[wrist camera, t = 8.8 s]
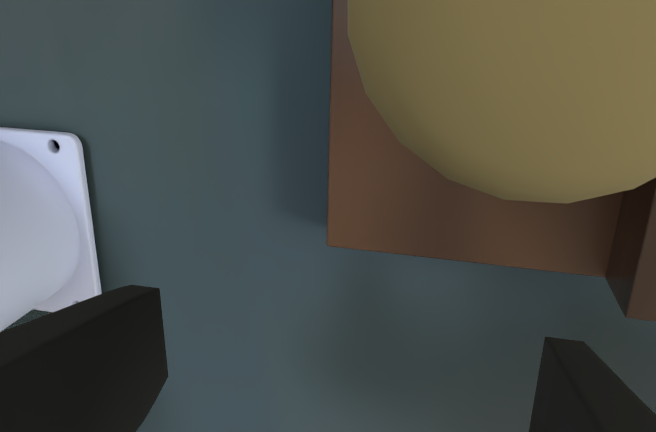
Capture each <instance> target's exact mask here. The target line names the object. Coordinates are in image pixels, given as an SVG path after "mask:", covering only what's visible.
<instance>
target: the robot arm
mask: <svg viewBox="0 0 656 432" xmlns="http://www.w3.org/2000/svg"><path fill="white" fill-rule="evenodd" d="M54 141H57V142H58V144H59V146H60V149H59V150H58V149H57V148H56V147H55V144H54ZM78 302H79V303H78ZM32 309H35V310H41V311H48V312H53V313H50V314H48V315H45V316H42V317H40V318H37V319H35V320H32V321H29V322H27V323H24V324H21V325H19V326H16V327H13V328H10V329H7V330H5V331H2V330H4V329H5V328H7V327H8V326H9V325H11V324H12V323H14V322H15V321H17V320H18V319H19V318H21V317H22V316H24V315H25V314H27V313H28V312H29V311H31V310H32ZM1 331H2V332H1ZM167 378H168V369H167V359H166V350H165V340H164V330H163V320H162V310H161V300H160V290H159V288H152V287H144V286H136V285H129V286H125V287H121V288H118V289H114V290H111V291H108V292H106V293H103V294H102V292H101V284H100V276H99V269H98V261H97V254H96V246H95V239H94V231H93V223H92V216H91V208H90V201H89V193H88V186H87V178H86V171H85V163H84V155H83V148H82V144H81V141H80V140H79V138H78V137H77V136H76V135H74V134H72V133H68V132H56V131H43V130H30V129H18V128H5V127H0V432H136V430H137V429H138V428H139V426H140V425H141V424H142V422H143V421H144V419H145V417H146V416H147V414H148V412H149V411H150V409H151V407H152V405H153V404H154V402H155V400H156V398H157V396H158V395H159V393H160V391H161V389H162V387H163V385H164V383H165V381H166V379H167ZM529 432H656V414H655V413H654V412H653V411H651V410H650V409H649V408H648V407H647V406H646V405H645V404H644V403H643V402H642V401H641V400H640V399H639V398H638V397H637V396H636V395H635V394H634V393H633V392H632V391H631V390H630V389H629V388H628V387H627V386H626V385H625V384H624V382H623V381H622V380H621V379H620V378H619V377H618V376H617V375H616V374H615V373H614V372H613V371H612V370H611V369H610V368H609V367H608V366H607V365H606V364H605V363H604V362H603V361H602V360H601V359H600V358H599V357H598V356H597V355H596V354H595V352H594V351H593V350H592V349H591V348H590V347H589V346H587V345H586V344H585V343H584V342H583V341H575V340H567V339H559V338H551V337H545V341H544V346H543V352H542V358H541V364H540V370H539V376H538V382H537V388H536V393H535V399H534V405H533V411H532V417H531V423H530V429H529Z"/></svg>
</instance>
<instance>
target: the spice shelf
mask: <svg viewBox="0 0 656 432" xmlns="http://www.w3.org/2000/svg"><path fill="white" fill-rule="evenodd" d="M327 245H328V246H333V247H342V248H351V249H359V250H368V251H377V252H386V253H395V254H404V255H413V256H421V257H430V258H439V259H448V260H457V261H466V262H475V263H483V264H492V265H501V266H510V267H519V268H528V269H537V270H545V271H554V272H563V273H572V274H581V275H590V276H599V277H606V280H607V282H608V284H609V286H610V288H611V290H612V292H613V294H614V296H615V298H616V300H617V302H618V304H619V305H620V307H621V309H622V311H623V313H624V315H625V317H626V318H632V319H640V320H648V321H656V178H654V179H652V180H650V181H648V182H646V183H644V184H642V185H640V186H638V187H636V188H635V189H631V190H627V191H622V192H618V193H613V194H609V195H604V196H600V197H595V198H591V199H586V200H581V201H577V202H572V203H568V204H565V203H548V202H531V201H515V200H503V199H500V198H498V197H495V196H492V195H489V194H487V193H484V192H481V191H478V190H476V189H473V188H470V187H468V186H465V185H462V184H459V183H457V182H454V181H451V180H448V179H447V178H445V177H444V176H443V175H441V174H440V173H439V172H438V171H436V170H435V169H434V168H432V167H431V166H430V165H429V164H427V163H426V162H425V161H423V160H422V159H421V158H419V157H418V156H417V155H416V154H414V153H413V152H412V151H410V150H409V149H408V148H407V147H405V146H404V145H403V144H401V143H400V142H399V141H398V140H397V138H396V137H395V135H394V134H393V132H392V131H391V129H390V128H389V126H388V125H387V124H386V122H385V121H384V119H383V118H382V116H381V115H380V113H379V112H378V110H377V109H376V108H375V106H374V105H373V103H372V102H371V100H370V99H369V97H368V96H367V94H366V93H365V90H364V87H363V83H362V80H361V77H360V73H359V70H358V67H357V64H356V60H355V57H354V54H353V50H352V47H351V44H350V40H349V37H348V0H332V34H331V76H330V118H329V161H328V203H327Z"/></svg>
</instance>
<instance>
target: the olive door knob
mask: <svg viewBox="0 0 656 432" xmlns="http://www.w3.org/2000/svg"><path fill="white" fill-rule="evenodd" d="M348 37H349V40H350V44H351V47H352V50H353V54H354V57H355V60H356V64H357V67H358V70H359V73H360V77H361V80H362V83H363V87H364V90H365V93H366V94H367V96H368V97H369V99H370V100H371V102H372V103H373V105H374V106H375V108H376V109H377V110H378V112H379V113H380V115H381V116H382V118H383V119H384V121H385V122H386V124H387V125H388V126H389V128H390V129H391V131H392V132H393V134H394V135H395V137H396V138H397V140H398V141H399V142H400V143H401V144H403V145H404V146H405V147H407V148H408V149H409V150H410V151H412V152H413V153H414V154H416V155H417V156H418V157H419V158H421V159H422V160H423V161H425V162H426V163H427V164H429V165H430V166H431V167H432V168H434V169H435V170H436V171H438V172H439V173H440V174H441V175H443V176H444V177H445V178H447V179H448V180H451V181H454V182H457V183H459V184H462V185H465V186H468V187H470V188H473V189H476V190H478V191H481V192H484V193H487V194H489V195H492V196H495V197H498V198H500V199H503V200H515V201H531V202H548V203H565V204H568V203H572V202H577V201H581V200H586V199H591V198H595V197H600V196H604V195H609V194H613V193H618V192H622V191H627V190H631V189H635V188H636V187H638V186H640V185H642V184H644V183H646V182H648V181H650V180H652V179H654V178H656V0H348Z"/></svg>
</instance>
